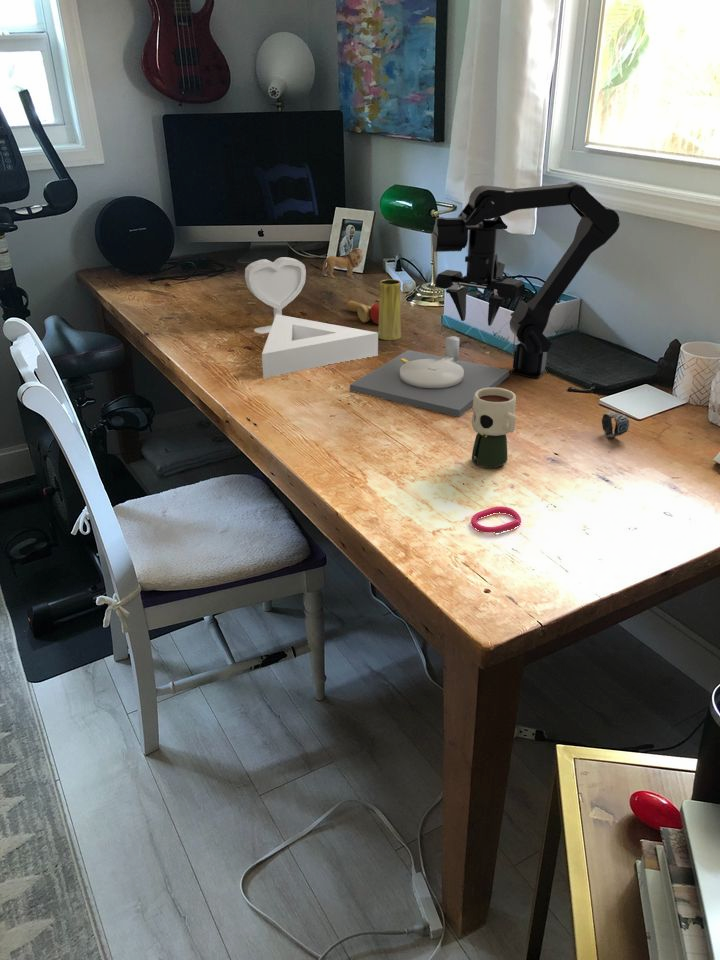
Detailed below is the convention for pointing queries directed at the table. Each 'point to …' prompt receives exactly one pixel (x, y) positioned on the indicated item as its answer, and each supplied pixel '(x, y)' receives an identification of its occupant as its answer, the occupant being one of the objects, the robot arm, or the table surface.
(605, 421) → the wristwatch
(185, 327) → the table surface
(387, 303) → the vase
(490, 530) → the fitness band
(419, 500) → the table surface
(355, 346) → the triangle block
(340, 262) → the lion figurine
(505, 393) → the character mug
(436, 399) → the dial plate
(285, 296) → the heart sculpture
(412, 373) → the dial
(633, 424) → the table surface
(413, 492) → the table surface
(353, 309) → the kendama
